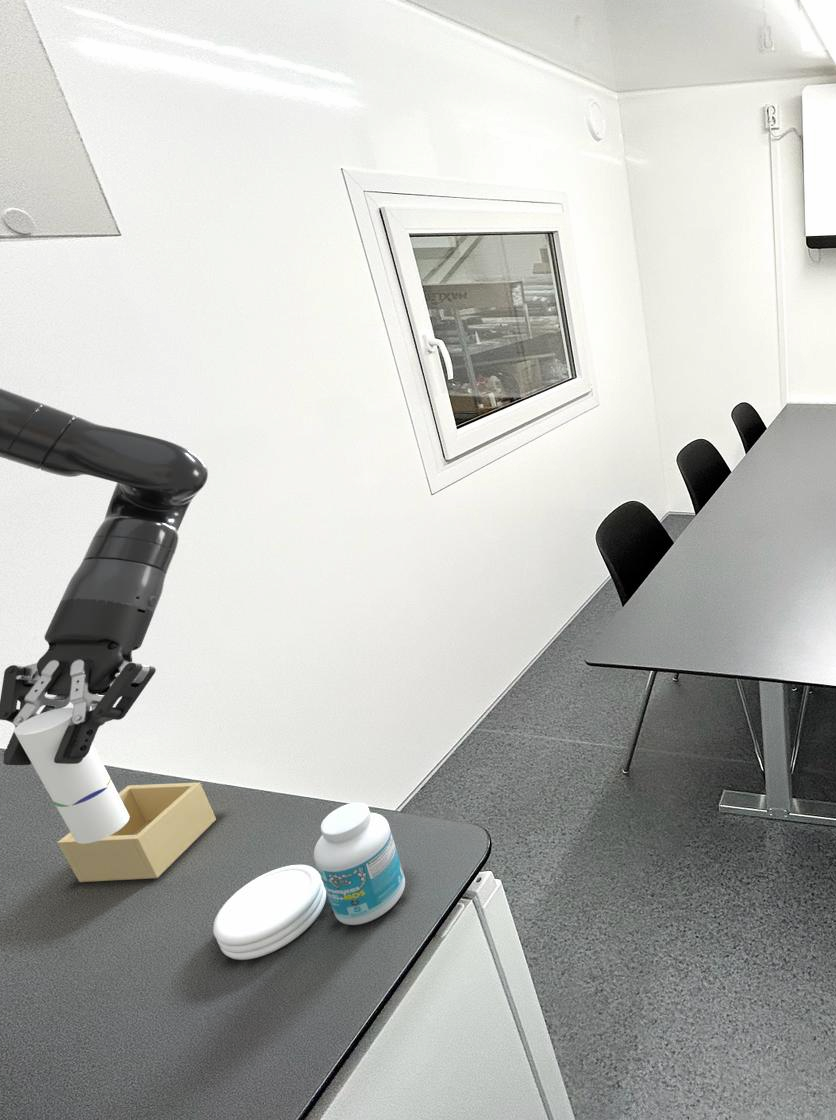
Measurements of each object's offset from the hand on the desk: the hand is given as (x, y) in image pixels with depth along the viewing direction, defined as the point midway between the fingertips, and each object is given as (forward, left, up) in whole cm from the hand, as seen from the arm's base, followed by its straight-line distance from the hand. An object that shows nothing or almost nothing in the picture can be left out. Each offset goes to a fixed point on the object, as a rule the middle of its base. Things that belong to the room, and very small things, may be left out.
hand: (42, 763), depth 65 cm
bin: (-8, +12, -25) cm, 29 cm away
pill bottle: (+26, +2, -25) cm, 36 cm away
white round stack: (+16, 0, -25) cm, 30 cm away
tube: (0, +2, -11) cm, 11 cm away
